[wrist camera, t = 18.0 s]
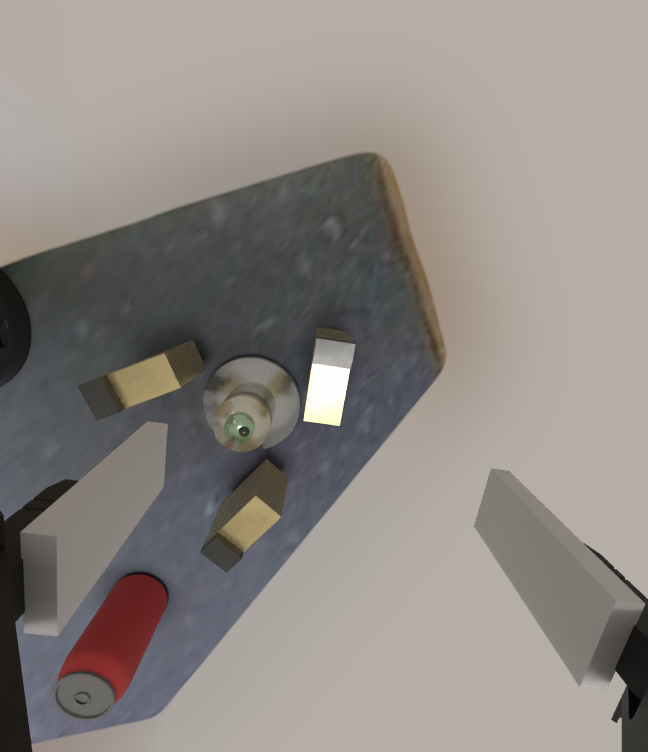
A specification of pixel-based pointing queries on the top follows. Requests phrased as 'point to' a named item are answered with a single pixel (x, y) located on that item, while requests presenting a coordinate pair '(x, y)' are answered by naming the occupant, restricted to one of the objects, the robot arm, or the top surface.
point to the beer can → (110, 649)
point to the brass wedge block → (246, 515)
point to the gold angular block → (142, 380)
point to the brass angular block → (328, 376)
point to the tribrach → (251, 403)
